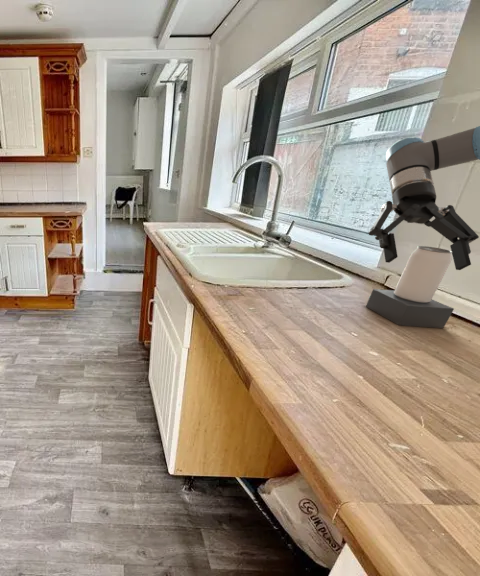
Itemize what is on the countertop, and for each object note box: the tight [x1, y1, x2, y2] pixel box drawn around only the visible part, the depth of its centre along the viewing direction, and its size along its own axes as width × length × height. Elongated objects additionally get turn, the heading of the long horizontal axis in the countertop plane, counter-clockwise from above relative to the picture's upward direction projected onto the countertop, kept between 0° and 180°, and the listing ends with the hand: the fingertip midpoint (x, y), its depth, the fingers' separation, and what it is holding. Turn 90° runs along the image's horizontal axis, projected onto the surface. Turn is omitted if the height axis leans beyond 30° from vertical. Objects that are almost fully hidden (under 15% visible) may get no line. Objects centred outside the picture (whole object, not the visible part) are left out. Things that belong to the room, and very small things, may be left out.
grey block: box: [365, 288, 455, 329], centre depth 74 cm, size 10×10×5 cm
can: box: [394, 245, 453, 303], centre depth 71 cm, size 6×6×12 cm
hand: (426, 263), depth 70 cm, fingers open, 13 cm apart
